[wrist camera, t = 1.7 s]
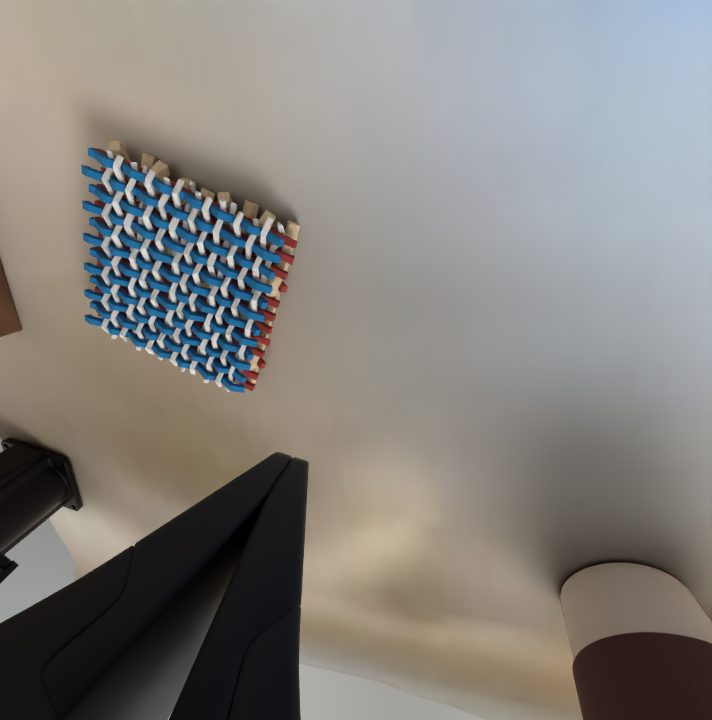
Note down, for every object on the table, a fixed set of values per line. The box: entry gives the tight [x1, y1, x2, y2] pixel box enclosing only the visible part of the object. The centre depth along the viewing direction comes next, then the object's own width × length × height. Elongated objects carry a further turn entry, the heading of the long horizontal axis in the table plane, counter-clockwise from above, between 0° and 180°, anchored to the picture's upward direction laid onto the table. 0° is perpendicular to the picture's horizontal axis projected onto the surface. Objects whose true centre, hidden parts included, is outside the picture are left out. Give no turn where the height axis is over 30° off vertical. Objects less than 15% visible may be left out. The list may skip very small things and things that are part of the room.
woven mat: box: [81, 141, 300, 393], centre depth 18 cm, size 10×11×2 cm
